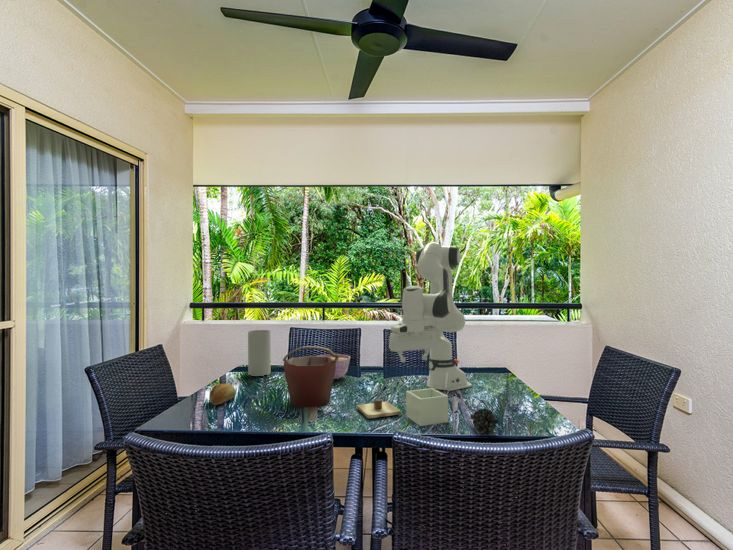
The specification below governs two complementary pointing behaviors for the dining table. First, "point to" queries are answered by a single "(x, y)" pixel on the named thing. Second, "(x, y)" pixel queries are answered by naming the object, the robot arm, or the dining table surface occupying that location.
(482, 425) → the pine cone
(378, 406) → the lid
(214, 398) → the bread roll
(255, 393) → the dining table surface
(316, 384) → the bucket
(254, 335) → the cylinder vase
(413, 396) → the bin
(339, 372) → the bowl of food
